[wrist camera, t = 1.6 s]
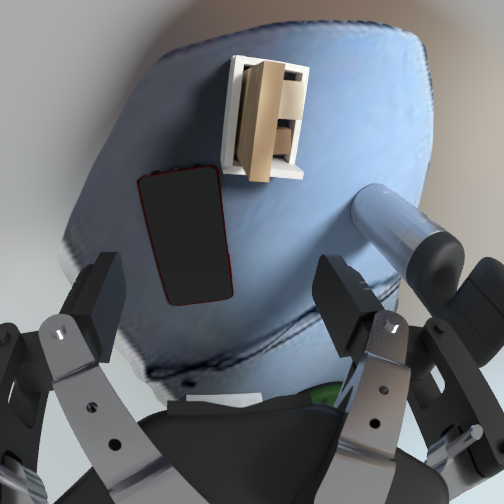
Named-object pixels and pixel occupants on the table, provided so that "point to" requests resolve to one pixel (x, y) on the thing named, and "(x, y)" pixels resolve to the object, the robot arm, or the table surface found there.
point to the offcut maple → (291, 100)
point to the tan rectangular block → (258, 118)
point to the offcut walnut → (282, 140)
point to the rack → (228, 158)
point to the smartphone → (188, 233)
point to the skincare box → (229, 399)
